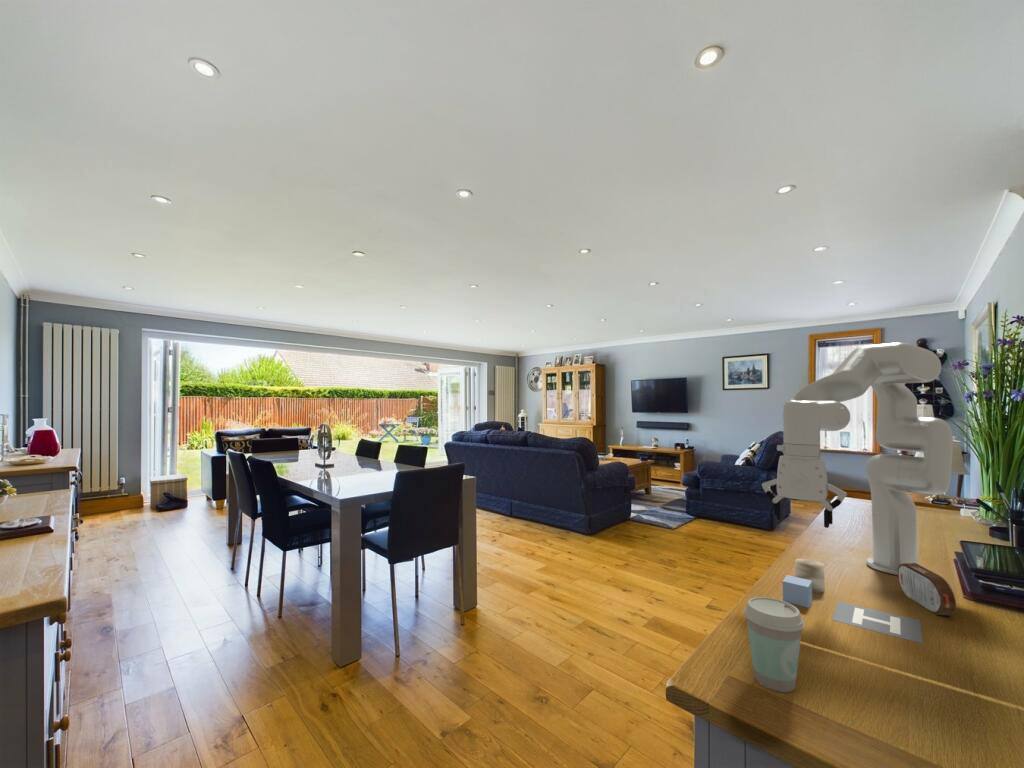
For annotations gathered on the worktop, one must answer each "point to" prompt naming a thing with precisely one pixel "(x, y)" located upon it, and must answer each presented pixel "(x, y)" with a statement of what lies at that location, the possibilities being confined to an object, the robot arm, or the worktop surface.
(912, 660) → the worktop surface
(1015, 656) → the worktop surface
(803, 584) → the blue cube
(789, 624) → the coffee cup
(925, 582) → the tin
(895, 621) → the letter card
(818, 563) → the beige streaked cube
